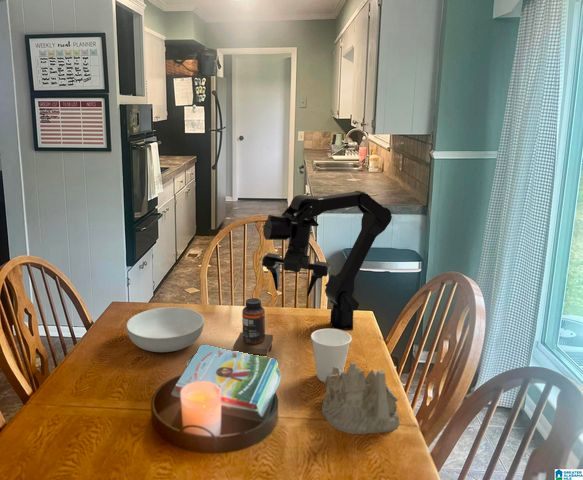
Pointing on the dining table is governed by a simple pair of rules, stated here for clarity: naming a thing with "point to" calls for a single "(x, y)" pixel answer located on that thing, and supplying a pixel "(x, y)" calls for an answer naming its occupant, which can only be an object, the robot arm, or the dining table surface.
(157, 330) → the serving bowl
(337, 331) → the cup
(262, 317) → the supplement bottle
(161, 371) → the dining table surface
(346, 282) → the robot arm
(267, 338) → the dark brown coaster
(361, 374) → the grey castle model
